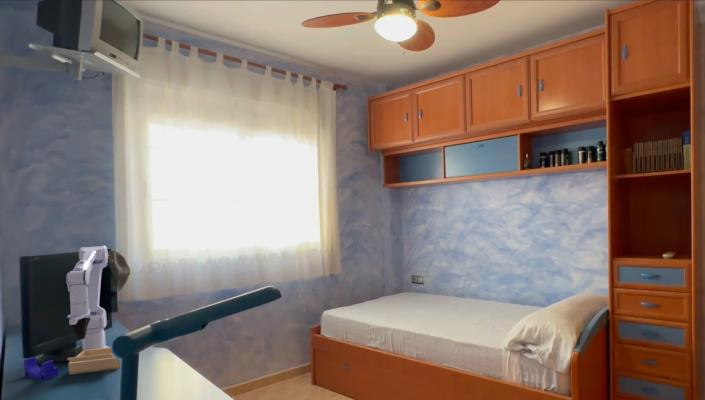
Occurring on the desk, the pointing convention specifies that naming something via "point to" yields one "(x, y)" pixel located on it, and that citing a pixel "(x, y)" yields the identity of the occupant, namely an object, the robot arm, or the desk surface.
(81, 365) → the carton
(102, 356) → the carton flap
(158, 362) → the desk surface
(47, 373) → the cable clip
